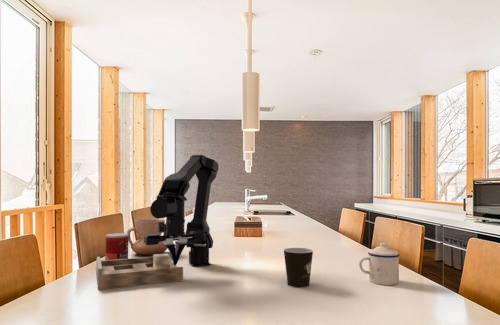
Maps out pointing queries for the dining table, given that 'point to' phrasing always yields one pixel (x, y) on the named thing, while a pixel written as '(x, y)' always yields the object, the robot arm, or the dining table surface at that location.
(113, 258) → the canned food
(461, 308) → the dining table surface
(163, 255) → the maple block
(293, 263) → the coffee mug
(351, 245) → the dining table surface
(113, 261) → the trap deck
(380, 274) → the teacup with lid
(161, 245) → the ceramic jug
